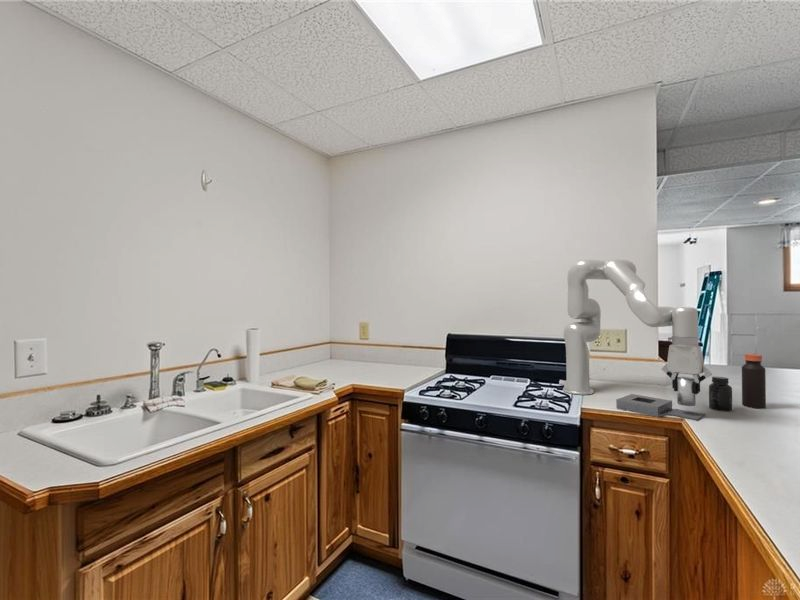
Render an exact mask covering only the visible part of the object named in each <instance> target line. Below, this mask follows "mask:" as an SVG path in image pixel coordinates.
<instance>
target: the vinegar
mask: <svg viewBox="0 0 800 600" xmlns="http://www.w3.org/2000/svg"><path fill="white" fill-rule="evenodd" d="M744 361H745V364H743V365H742V366H741V404H742V406H743V405H744V407H746V406H747V407H746V408H750V407H752V408H751V409H758V408H763V409H765V408H766V407H767V399H766V397H767V394H766V391H767V390H766V389H767V388H766V386H767V385H766V383H767V382H766V379H767V378H766V368H765V367H764V366H763V365H762V362H763V356H762V354H757V353H745V354H744Z"/></svg>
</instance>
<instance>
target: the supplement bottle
mask: <svg viewBox="0 0 800 600" xmlns="http://www.w3.org/2000/svg"><path fill="white" fill-rule="evenodd" d="M711 382H712V383H710V384H709V385H708V408H710V409H711V410H715V411H720V412H731V411H732V410H733V388H732V386H731V385H729V377H724V376H711Z"/></svg>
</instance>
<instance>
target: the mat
mask: <svg viewBox="0 0 800 600" xmlns="http://www.w3.org/2000/svg"><path fill="white" fill-rule="evenodd" d="M666 415H667V416H672V417H675V418H682V419H685V420H691V421H696V422H698V421H699V420H701V419H703V418H705V416H706V413H701V412H697V411H696V412H695V411H691V410H686V409H684V410H683V409H679V408H674V409H672V410H671V411H669V412H667V413H666Z"/></svg>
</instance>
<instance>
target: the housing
mask: <svg viewBox="0 0 800 600" xmlns="http://www.w3.org/2000/svg"><path fill="white" fill-rule="evenodd" d="M615 404H616V408H617V409H618V410H622V411H627V412H631V413H636V414H642V415H647V416H650V417H655V418H659V417H661V416H663V415H665V414H667V413H668V412H670V411H672V410H673V401H672V400H670V399H663V398H659V397H658V398H657V397H652V396H646V395H641V394H635V393H631V394H628V395H624V396H622V397H620V398H617V399H616V403H615ZM616 408H615V409H616Z"/></svg>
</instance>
